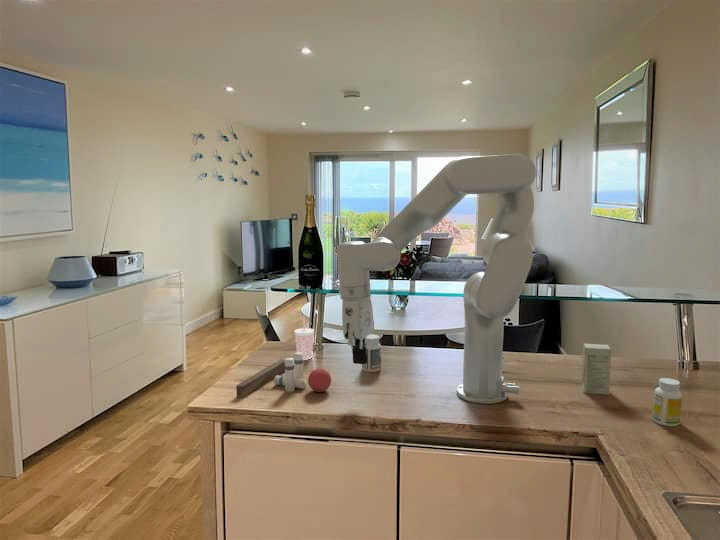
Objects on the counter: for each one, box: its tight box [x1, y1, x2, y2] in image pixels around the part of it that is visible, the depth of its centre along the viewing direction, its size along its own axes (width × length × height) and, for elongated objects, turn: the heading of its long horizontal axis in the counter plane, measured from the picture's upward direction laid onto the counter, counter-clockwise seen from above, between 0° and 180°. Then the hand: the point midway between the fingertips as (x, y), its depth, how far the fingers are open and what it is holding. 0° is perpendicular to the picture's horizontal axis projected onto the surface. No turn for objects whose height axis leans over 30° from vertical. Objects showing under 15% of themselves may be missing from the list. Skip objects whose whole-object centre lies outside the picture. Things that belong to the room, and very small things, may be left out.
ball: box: [307, 368, 332, 393], centre depth 134 cm, size 6×6×6 cm
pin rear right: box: [293, 351, 305, 379], centre depth 139 cm, size 2×2×8 cm
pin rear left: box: [284, 357, 296, 393], centre depth 135 cm, size 2×2×8 cm
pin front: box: [273, 375, 308, 389], centre depth 138 cm, size 2×2×8 cm
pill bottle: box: [361, 334, 382, 373], centre depth 151 cm, size 6×6×10 cm
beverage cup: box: [293, 314, 315, 361], centre depth 161 cm, size 6×6×14 cm
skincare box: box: [581, 343, 612, 395], centre depth 133 cm, size 6×4×12 cm
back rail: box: [235, 359, 285, 398], centre depth 141 cm, size 2×22×3 cm, turn 159°
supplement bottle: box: [651, 377, 683, 427], centre depth 116 cm, size 5×5×10 cm
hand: (360, 362), depth 130 cm, fingers closed
